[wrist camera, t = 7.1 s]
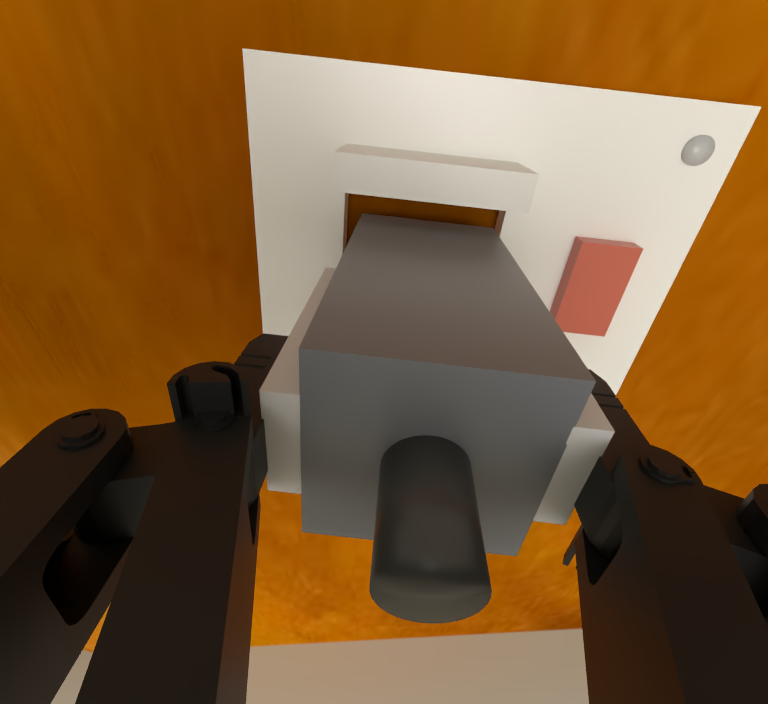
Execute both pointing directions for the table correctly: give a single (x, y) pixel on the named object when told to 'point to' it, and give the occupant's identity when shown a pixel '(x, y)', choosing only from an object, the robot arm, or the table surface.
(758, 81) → the table surface
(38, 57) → the table surface
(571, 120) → the socket
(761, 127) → the table surface
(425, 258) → the plug
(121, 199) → the table surface
